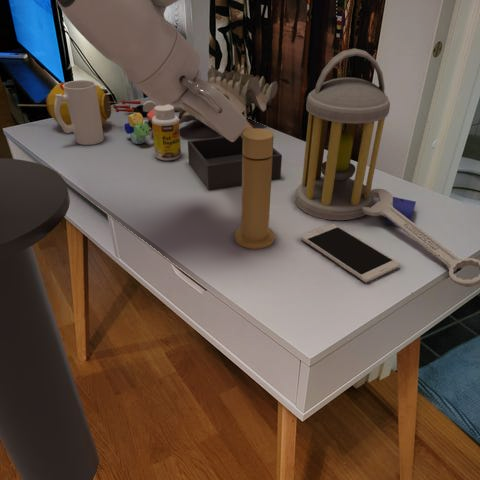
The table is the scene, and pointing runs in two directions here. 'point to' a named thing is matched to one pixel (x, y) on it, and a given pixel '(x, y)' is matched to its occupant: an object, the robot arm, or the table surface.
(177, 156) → the supplement bottle
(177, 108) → the pen
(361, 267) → the smartphone
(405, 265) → the table surface
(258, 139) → the spout
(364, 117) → the lantern
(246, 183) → the faucet column
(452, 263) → the wrench
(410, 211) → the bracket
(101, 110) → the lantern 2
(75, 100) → the mug
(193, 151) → the tray
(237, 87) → the seashell
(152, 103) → the watch
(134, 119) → the dice
